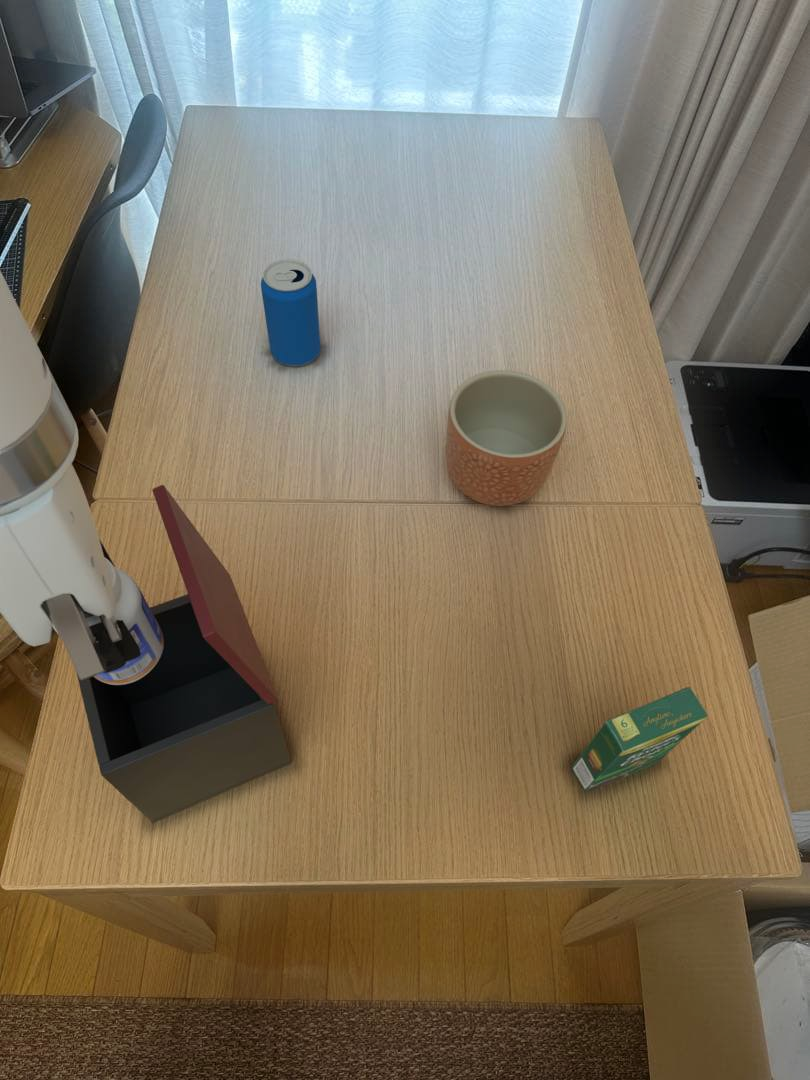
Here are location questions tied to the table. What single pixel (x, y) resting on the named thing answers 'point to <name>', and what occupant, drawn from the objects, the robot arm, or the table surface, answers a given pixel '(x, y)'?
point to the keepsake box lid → (214, 597)
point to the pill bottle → (132, 628)
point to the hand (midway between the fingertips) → (103, 619)
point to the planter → (503, 436)
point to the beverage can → (291, 311)
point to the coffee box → (638, 739)
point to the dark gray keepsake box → (182, 724)
